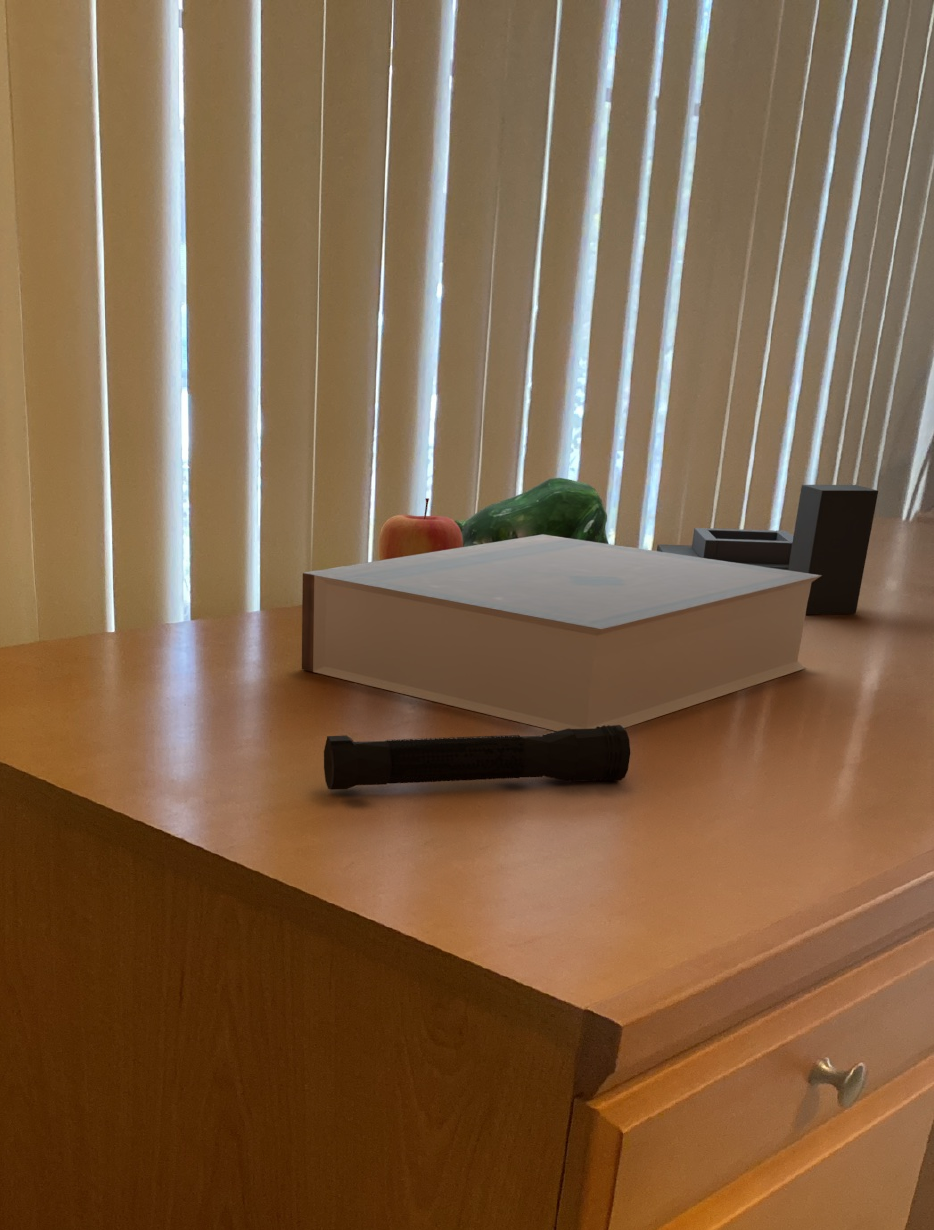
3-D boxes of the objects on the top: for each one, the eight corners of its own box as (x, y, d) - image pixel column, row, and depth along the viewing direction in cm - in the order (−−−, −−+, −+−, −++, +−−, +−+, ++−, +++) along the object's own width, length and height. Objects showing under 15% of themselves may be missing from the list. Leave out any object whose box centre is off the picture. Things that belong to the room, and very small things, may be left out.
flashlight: (627, 787, 80) (633, 733, 78) (333, 800, 76) (334, 744, 75) (606, 771, 82) (612, 718, 81) (322, 783, 79) (323, 728, 78)
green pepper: (580, 533, 144) (433, 541, 142) (595, 448, 137) (441, 455, 135) (619, 611, 136) (463, 621, 134) (637, 524, 129) (473, 533, 127)
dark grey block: (835, 605, 129) (856, 484, 124) (856, 613, 125) (878, 490, 121) (782, 605, 128) (801, 484, 123) (801, 614, 125) (822, 490, 120)
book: (301, 669, 103) (302, 572, 99) (535, 617, 121) (542, 534, 118) (589, 739, 88) (601, 629, 85) (806, 668, 106) (822, 575, 103)
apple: (369, 601, 126) (372, 503, 122) (385, 586, 132) (388, 493, 128) (453, 606, 124) (458, 508, 120) (465, 591, 131) (471, 497, 127)
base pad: (811, 559, 151) (816, 529, 150) (836, 579, 141) (842, 547, 139) (656, 554, 152) (659, 524, 151) (669, 573, 142) (673, 541, 140)
